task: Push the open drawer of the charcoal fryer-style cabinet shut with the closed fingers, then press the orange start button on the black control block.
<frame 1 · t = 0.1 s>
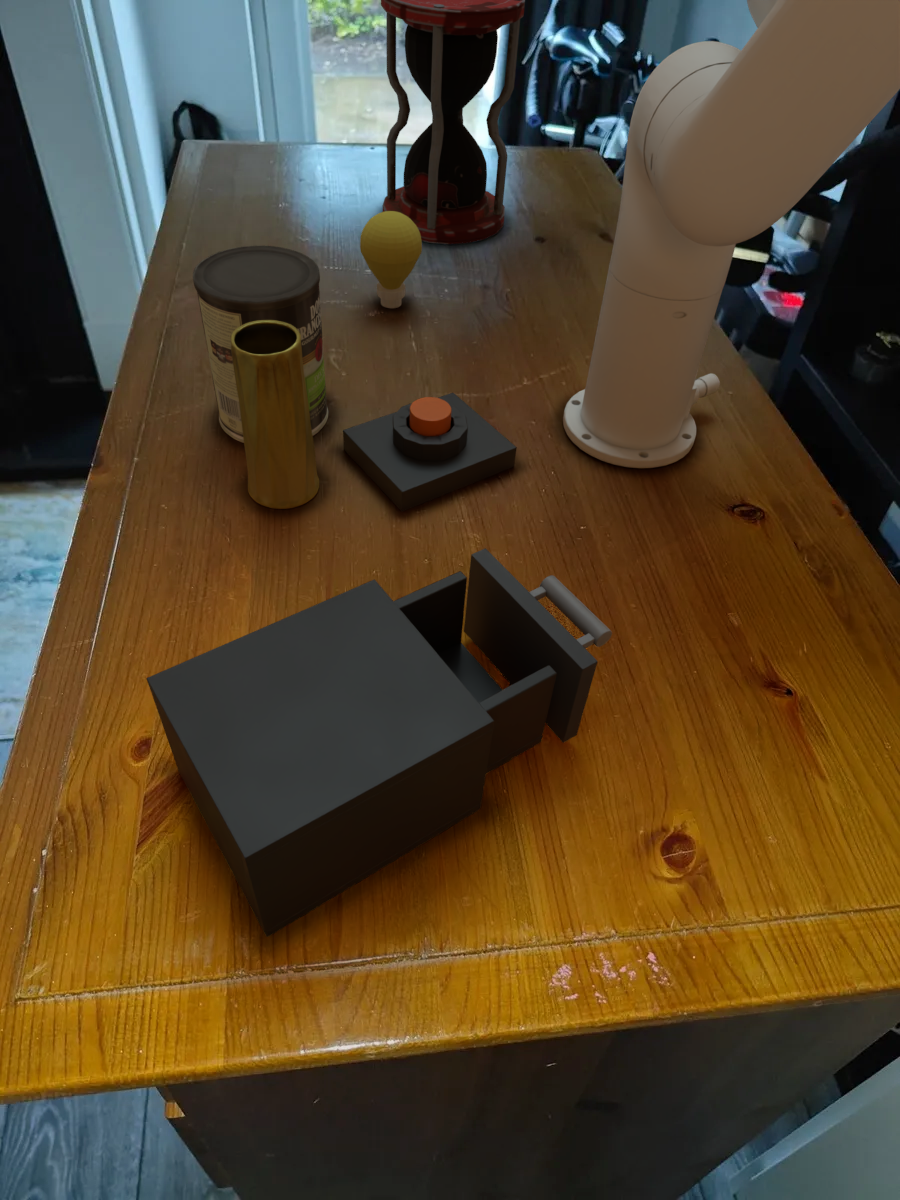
start button: (430, 417, 73), point 4 cm above the dresser, slide at 0.1 cm
control block: (428, 458, 77), on the dresser
vase: (284, 489, 73), on the dresser
light bulb: (391, 304, 96), on the dresser
hourglass: (443, 220, 112), on the dresser
fryer: (328, 789, 53), on the dresser
fryer drawer: (474, 670, 54), point 5 cm above the dresser, slide at 7.0 cm
coffee can: (274, 417, 80), on the dresser
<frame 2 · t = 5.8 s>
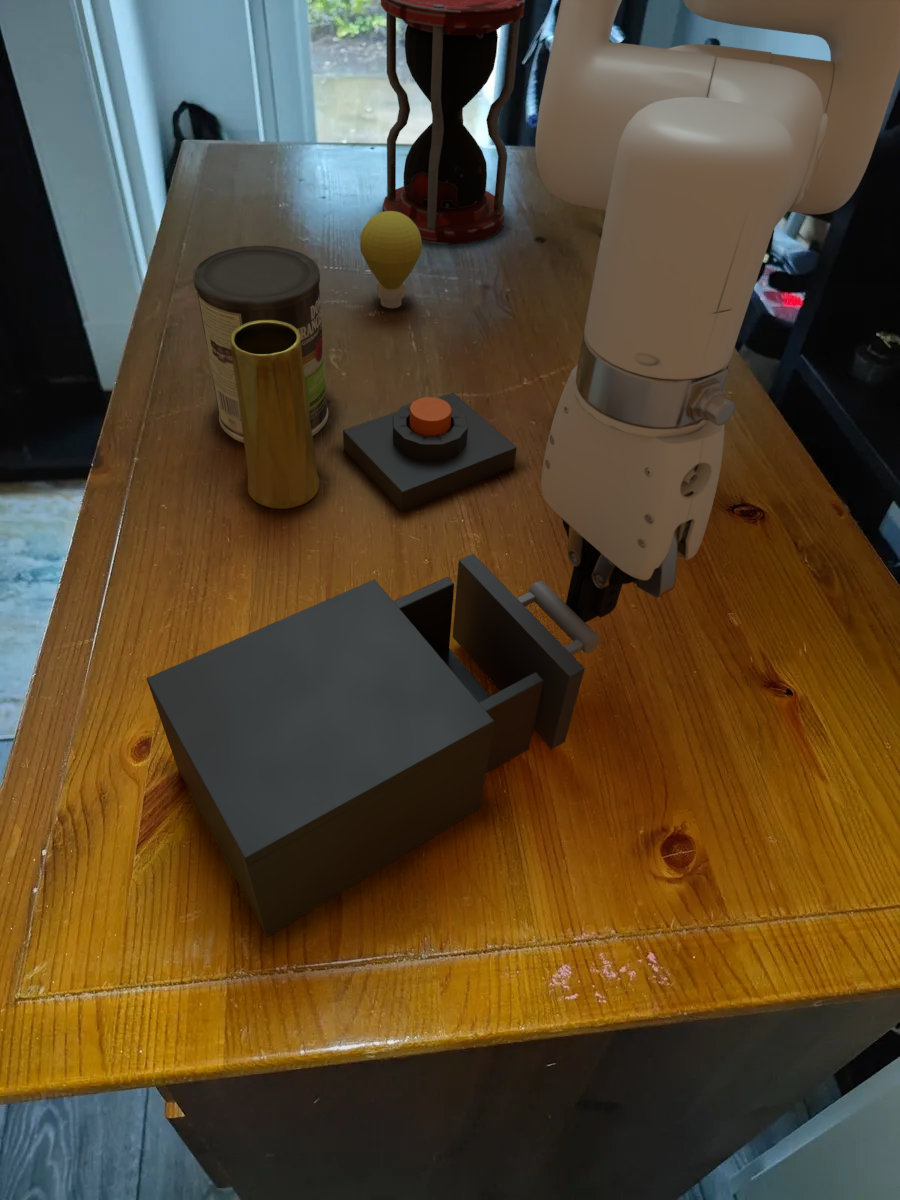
hand: (589, 609, 58), 5 cm above the dresser, tool pointing down, fingers closed
fryer drawer: (462, 676, 54), point 5 cm above the dresser, slide at 6.0 cm, touching gripper
everything else where it was.
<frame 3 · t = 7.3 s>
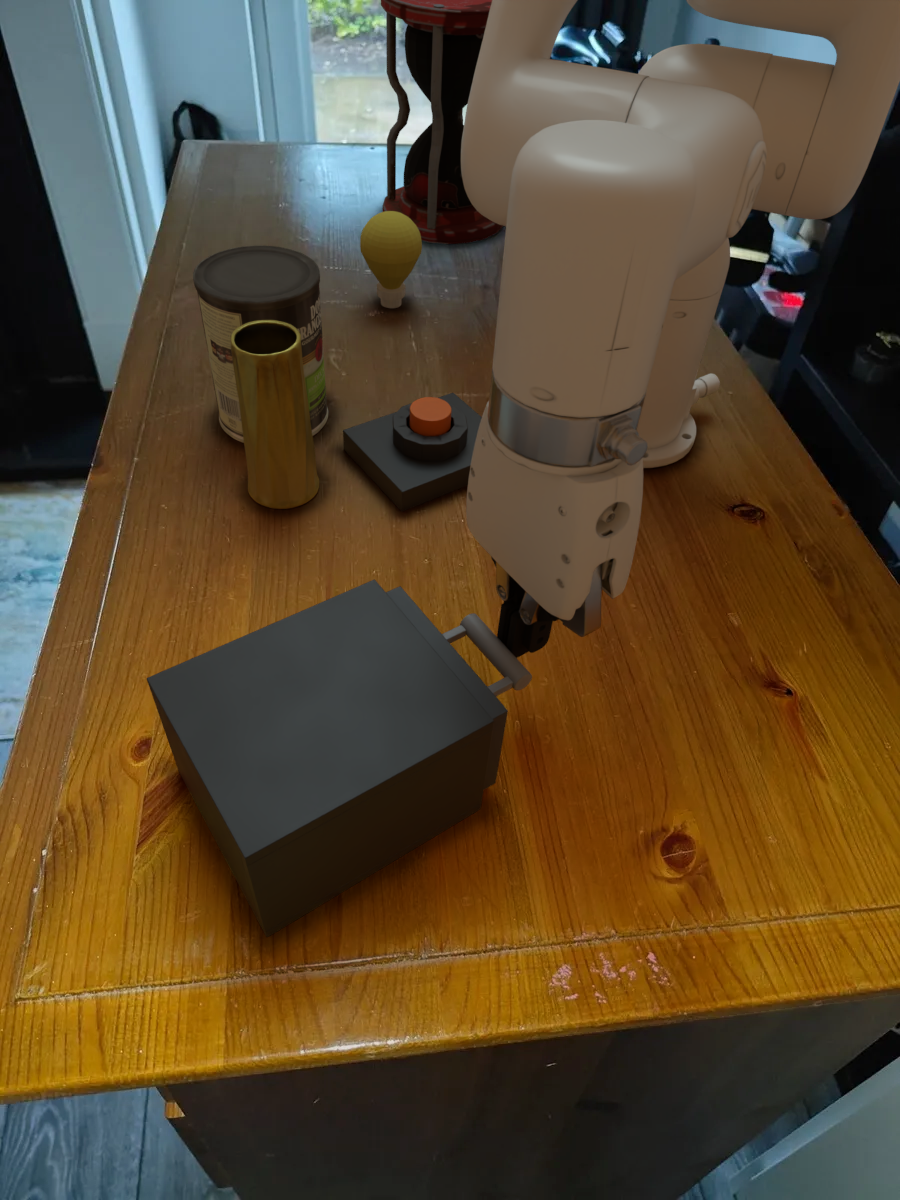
hand: (522, 642, 55), 5 cm above the dresser, tool pointing down, fingers closed
fryer drawer: (385, 716, 51), point 5 cm above the dresser, slide at 0.3 cm
everything else where it was.
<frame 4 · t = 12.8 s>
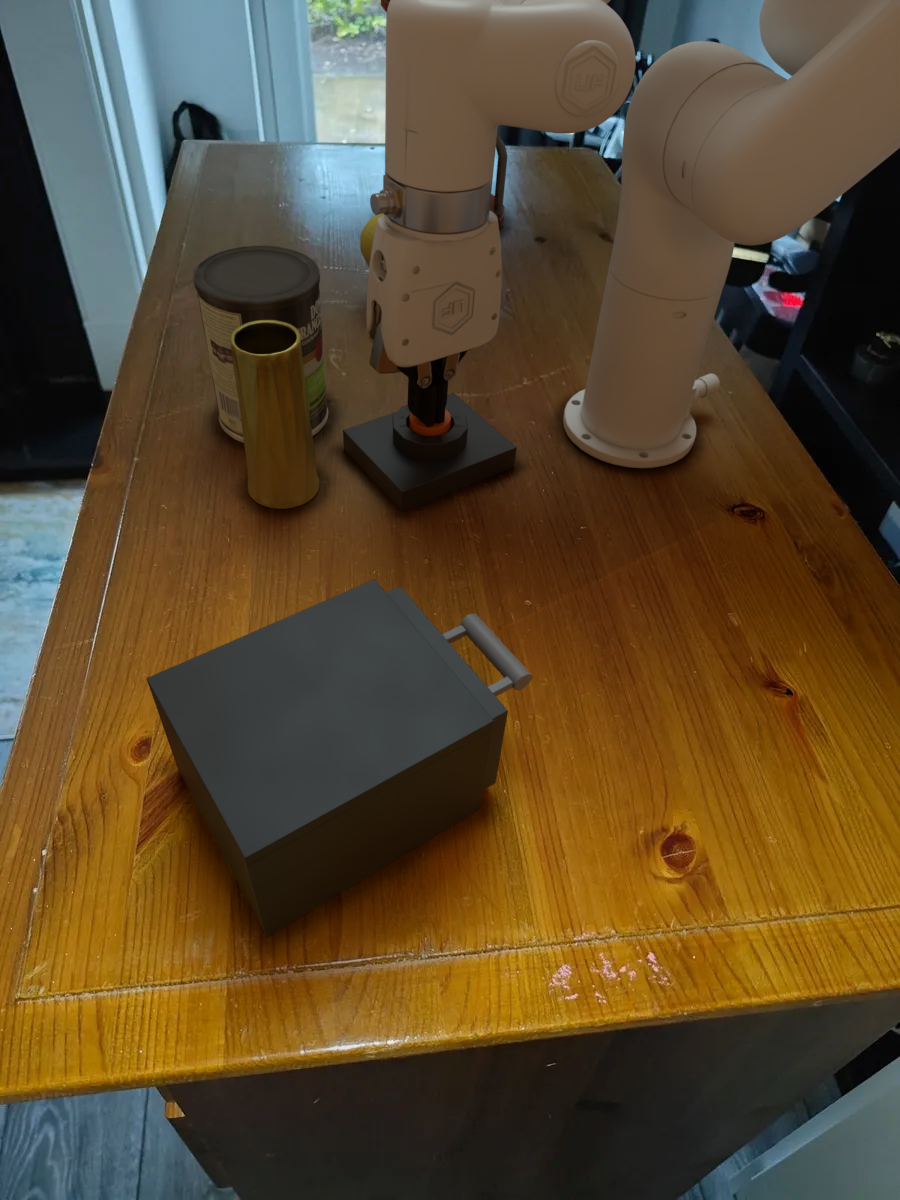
hand: (426, 416, 73), 5 cm above the dresser, tool pointing down, fingers closed
start button: (430, 424, 74), point 4 cm above the dresser, slide at -0.7 cm, touching gripper
everything else where it was.
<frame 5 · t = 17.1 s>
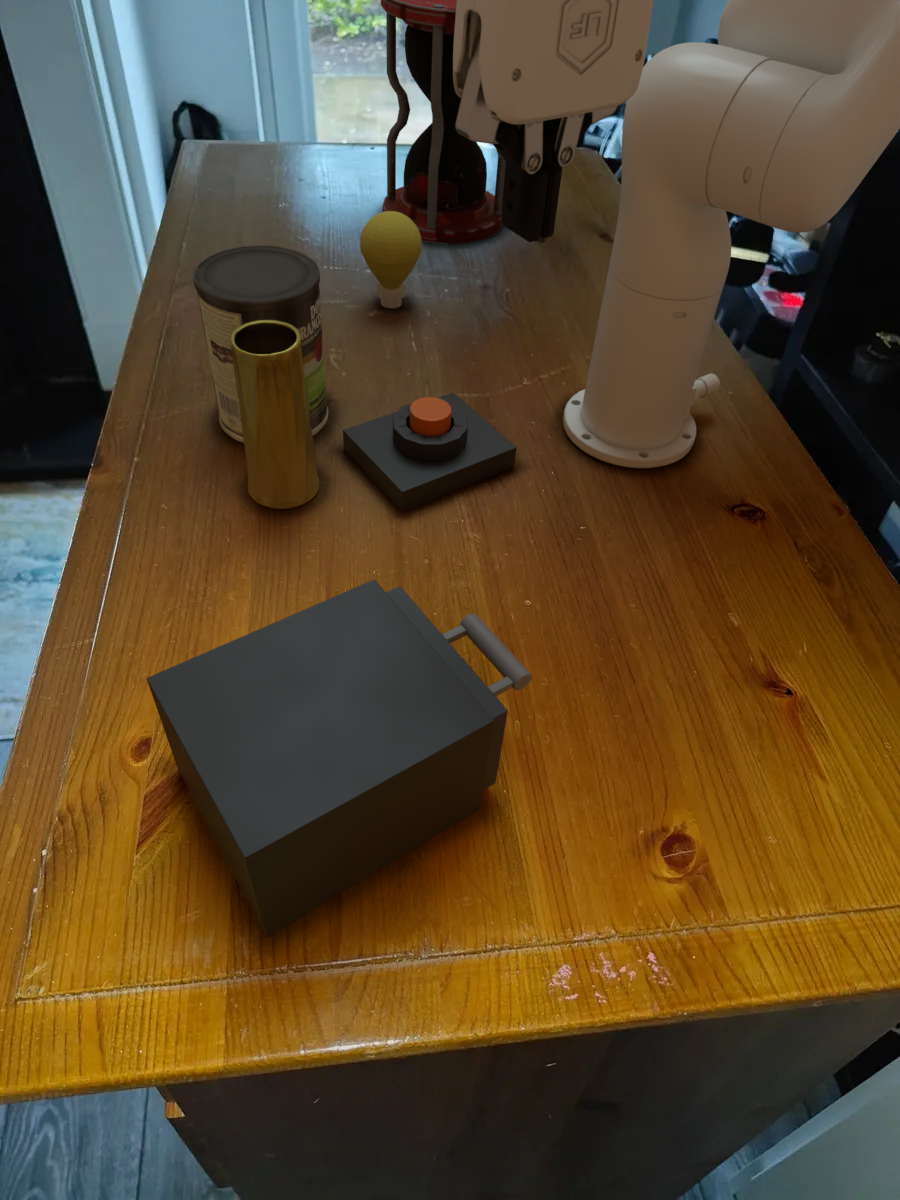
hand: (526, 230, 52), 25 cm above the dresser, tool pointing down, fingers closed
start button: (430, 417, 73), point 4 cm above the dresser, slide at 0.1 cm
everything else where it was.
at the end: fryer drawer slide at 0.3 cm; start button pushed in 1.0 cm at the most during the clip, back to where it started at the end; start button slide at 0.1 cm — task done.
